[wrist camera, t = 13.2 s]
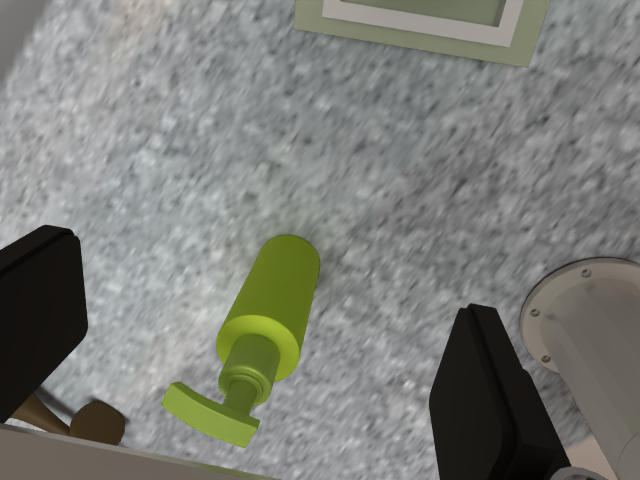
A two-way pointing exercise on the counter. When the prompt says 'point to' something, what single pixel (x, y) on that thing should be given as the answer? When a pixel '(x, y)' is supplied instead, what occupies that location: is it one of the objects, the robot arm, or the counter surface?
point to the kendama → (75, 421)
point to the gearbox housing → (433, 25)
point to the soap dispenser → (255, 341)
